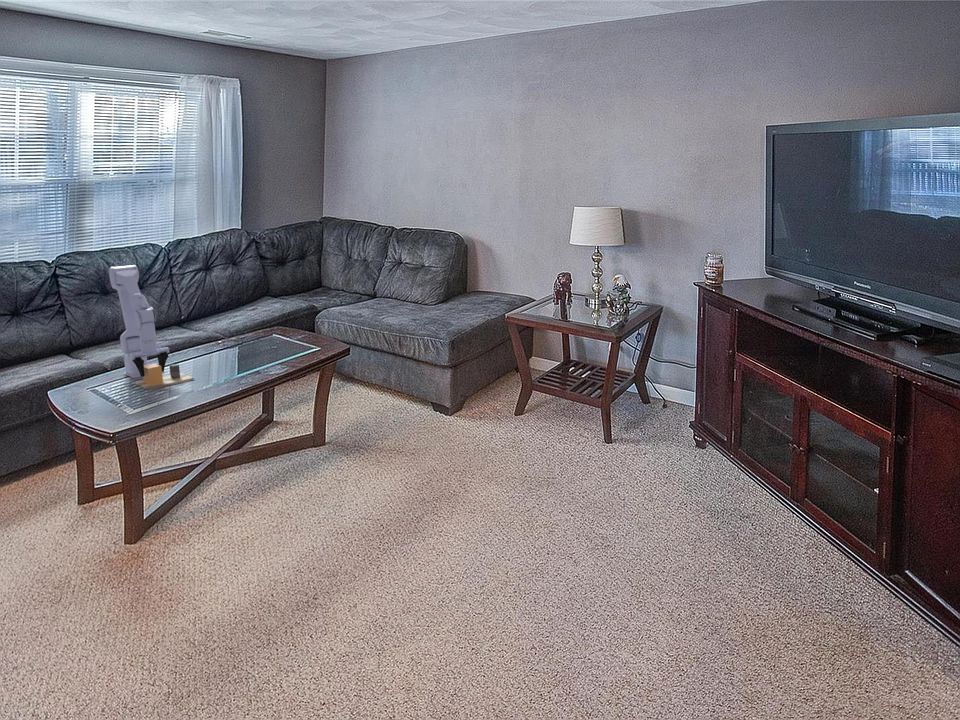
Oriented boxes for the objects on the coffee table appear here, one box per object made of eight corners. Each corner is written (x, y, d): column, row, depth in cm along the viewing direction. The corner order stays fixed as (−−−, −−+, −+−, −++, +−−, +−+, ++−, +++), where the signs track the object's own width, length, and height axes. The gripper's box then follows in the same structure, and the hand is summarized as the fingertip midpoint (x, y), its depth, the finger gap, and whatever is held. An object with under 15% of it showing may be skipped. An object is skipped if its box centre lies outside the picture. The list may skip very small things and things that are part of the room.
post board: (135, 383, 287) (133, 369, 286) (179, 373, 300) (177, 360, 299) (149, 390, 280) (147, 375, 278) (194, 379, 293) (192, 365, 291)
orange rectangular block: (143, 382, 286) (141, 366, 284) (156, 379, 290) (154, 363, 288) (150, 385, 283) (147, 368, 281) (163, 382, 287) (161, 365, 285)
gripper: (133, 345, 274) (138, 379, 278) (171, 338, 285) (175, 371, 288) (125, 341, 279) (129, 376, 282) (162, 335, 289) (166, 368, 293)
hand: (152, 373), depth 286 cm, fingers open, 7 cm apart
